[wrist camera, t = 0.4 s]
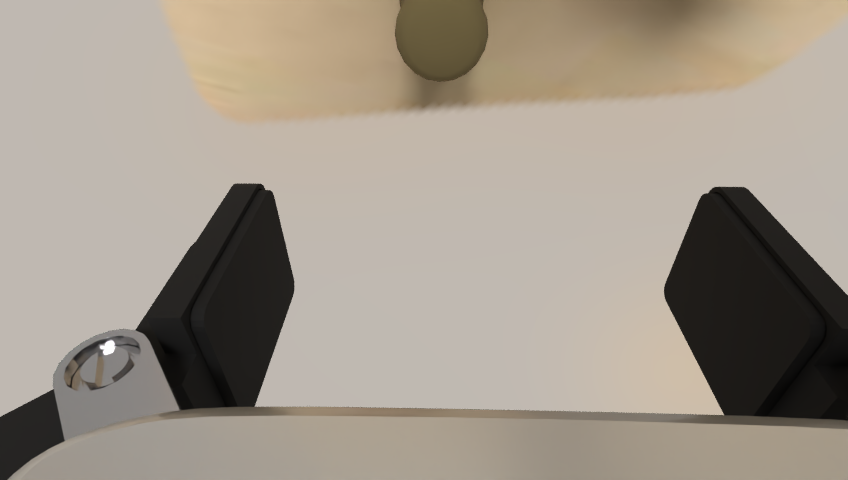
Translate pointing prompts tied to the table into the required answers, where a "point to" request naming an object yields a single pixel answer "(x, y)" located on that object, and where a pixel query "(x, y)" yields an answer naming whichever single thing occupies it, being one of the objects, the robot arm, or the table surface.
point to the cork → (441, 36)
